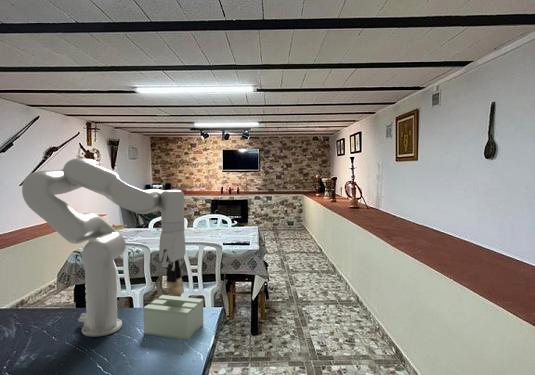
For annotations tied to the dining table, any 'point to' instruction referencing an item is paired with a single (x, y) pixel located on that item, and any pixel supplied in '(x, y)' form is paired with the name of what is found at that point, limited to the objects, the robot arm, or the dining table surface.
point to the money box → (173, 317)
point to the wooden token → (175, 287)
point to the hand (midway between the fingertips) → (173, 279)
